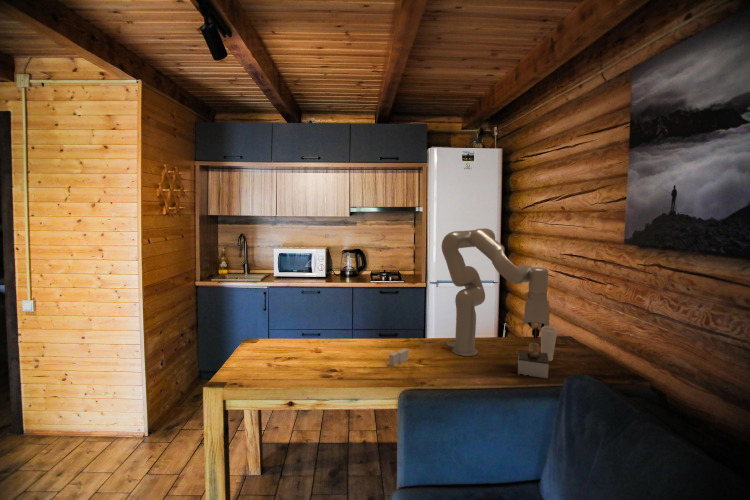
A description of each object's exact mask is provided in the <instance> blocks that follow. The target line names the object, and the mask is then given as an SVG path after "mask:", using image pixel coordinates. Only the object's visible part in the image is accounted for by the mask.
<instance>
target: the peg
mask: <svg viewBox="0 0 750 500" xmlns="http://www.w3.org/2000/svg"><path fill="white" fill-rule="evenodd" d="M539 348H540V344H539V343H536V342H530V343H529V344H528V351H529V354H528V357H532V358H538V352H540V351H539Z"/></svg>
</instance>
